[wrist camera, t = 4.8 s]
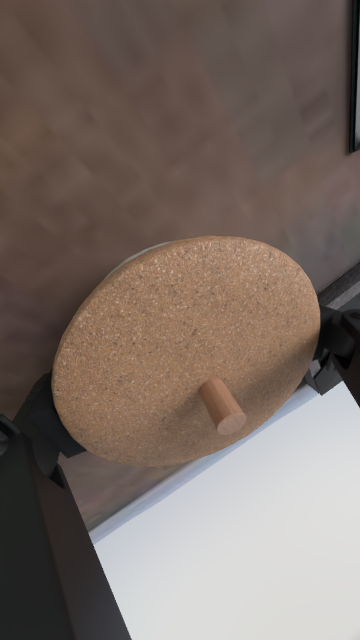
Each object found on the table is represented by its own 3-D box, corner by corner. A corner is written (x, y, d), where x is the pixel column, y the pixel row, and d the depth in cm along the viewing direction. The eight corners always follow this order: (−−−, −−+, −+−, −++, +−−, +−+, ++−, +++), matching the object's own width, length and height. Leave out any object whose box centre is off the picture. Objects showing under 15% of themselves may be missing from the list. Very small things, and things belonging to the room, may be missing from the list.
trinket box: (149, 385, 16) (174, 533, 8) (52, 294, 11) (-155, 469, 3) (245, 322, 16) (364, 409, 8) (195, 199, 11) (405, 99, 3)
